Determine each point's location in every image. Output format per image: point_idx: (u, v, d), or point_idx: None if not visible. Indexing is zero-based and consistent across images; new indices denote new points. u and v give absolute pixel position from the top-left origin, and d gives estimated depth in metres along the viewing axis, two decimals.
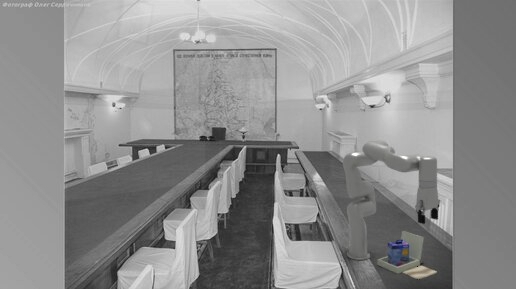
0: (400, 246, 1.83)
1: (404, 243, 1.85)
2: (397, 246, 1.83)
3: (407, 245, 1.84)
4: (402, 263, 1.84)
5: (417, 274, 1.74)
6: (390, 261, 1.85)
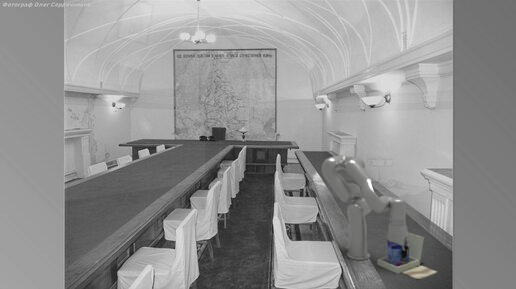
0: (400, 246, 1.83)
1: None
2: (397, 246, 1.83)
3: None
4: (402, 263, 1.84)
5: (417, 274, 1.74)
6: (390, 261, 1.85)
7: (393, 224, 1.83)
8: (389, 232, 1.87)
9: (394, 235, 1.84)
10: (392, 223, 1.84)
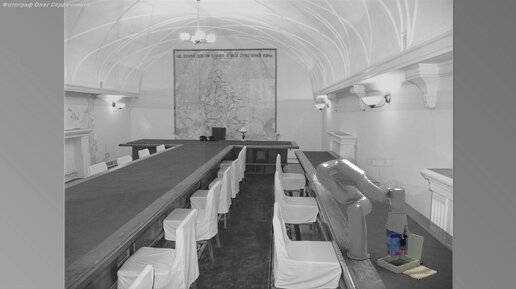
0: (399, 235, 1.83)
1: None
2: (396, 235, 1.83)
3: None
4: (401, 252, 1.84)
5: (417, 274, 1.74)
6: (389, 250, 1.85)
7: (392, 213, 1.83)
8: (388, 221, 1.87)
9: (393, 224, 1.84)
10: (391, 212, 1.83)
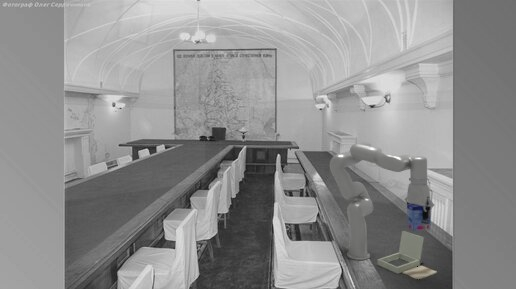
0: (421, 207, 1.72)
1: None
2: (418, 207, 1.71)
3: None
4: (423, 226, 1.72)
5: (417, 274, 1.74)
6: (410, 224, 1.73)
7: (414, 184, 1.71)
8: (409, 193, 1.75)
9: (414, 196, 1.73)
10: (413, 183, 1.72)
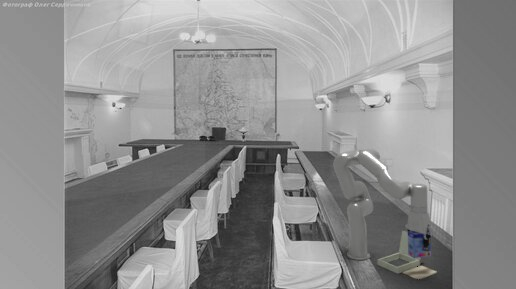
0: (421, 235, 1.73)
1: None
2: (418, 235, 1.72)
3: (429, 233, 1.73)
4: (424, 253, 1.73)
5: (417, 274, 1.74)
6: (411, 251, 1.74)
7: (414, 211, 1.72)
8: (409, 220, 1.76)
9: (415, 223, 1.74)
10: (413, 210, 1.73)
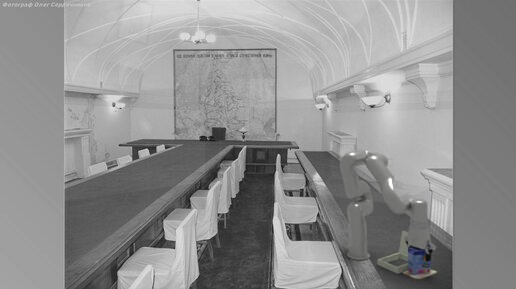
0: (422, 252, 1.73)
1: None
2: (419, 252, 1.73)
3: None
4: (424, 270, 1.74)
5: None
6: (411, 268, 1.75)
7: (414, 227, 1.73)
8: (410, 235, 1.77)
9: (415, 238, 1.74)
10: (413, 225, 1.73)
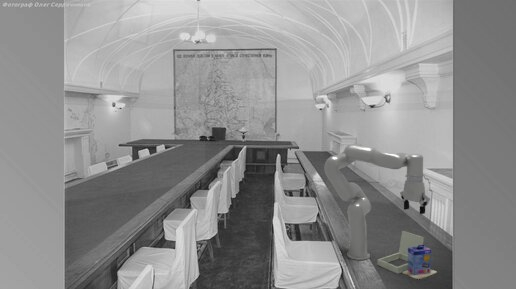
0: (422, 252, 1.73)
1: (425, 248, 1.75)
2: (419, 252, 1.73)
3: (429, 250, 1.74)
4: (424, 270, 1.74)
5: None
6: (411, 268, 1.75)
7: (409, 180, 1.78)
8: (405, 189, 1.82)
9: (410, 192, 1.79)
10: (408, 179, 1.78)
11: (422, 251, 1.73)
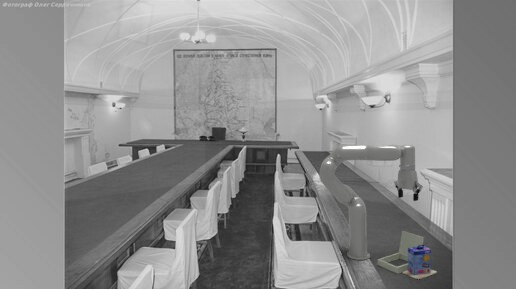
0: (422, 252, 1.73)
1: (425, 248, 1.75)
2: (419, 252, 1.73)
3: (429, 250, 1.74)
4: (424, 270, 1.74)
5: None
6: (411, 268, 1.75)
7: (403, 169, 1.89)
8: (399, 178, 1.93)
9: (404, 181, 1.91)
10: (402, 169, 1.90)
11: (422, 251, 1.73)
